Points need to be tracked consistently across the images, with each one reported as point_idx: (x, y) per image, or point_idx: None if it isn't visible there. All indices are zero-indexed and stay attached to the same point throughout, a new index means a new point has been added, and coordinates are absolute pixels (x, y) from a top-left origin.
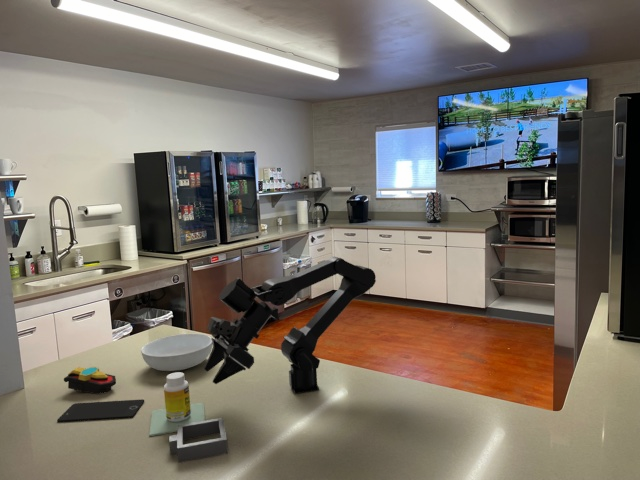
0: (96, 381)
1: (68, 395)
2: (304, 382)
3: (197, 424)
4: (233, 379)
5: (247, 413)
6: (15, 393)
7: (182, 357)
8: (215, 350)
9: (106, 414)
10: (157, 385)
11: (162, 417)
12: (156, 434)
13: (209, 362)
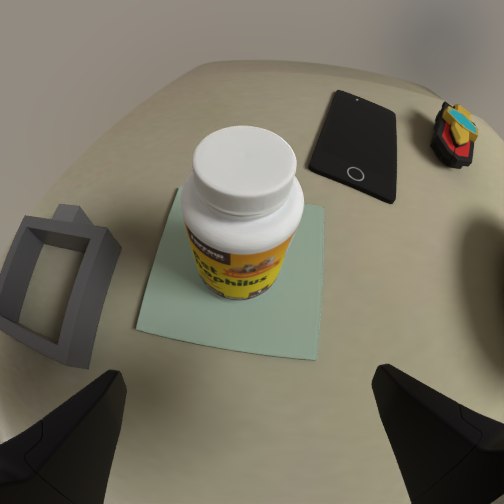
0: (445, 131)
1: (428, 120)
2: None
3: (75, 280)
4: None
5: (158, 472)
6: (432, 92)
7: None
8: (468, 458)
9: (336, 132)
10: (464, 245)
11: None
12: (174, 201)
13: (404, 402)
